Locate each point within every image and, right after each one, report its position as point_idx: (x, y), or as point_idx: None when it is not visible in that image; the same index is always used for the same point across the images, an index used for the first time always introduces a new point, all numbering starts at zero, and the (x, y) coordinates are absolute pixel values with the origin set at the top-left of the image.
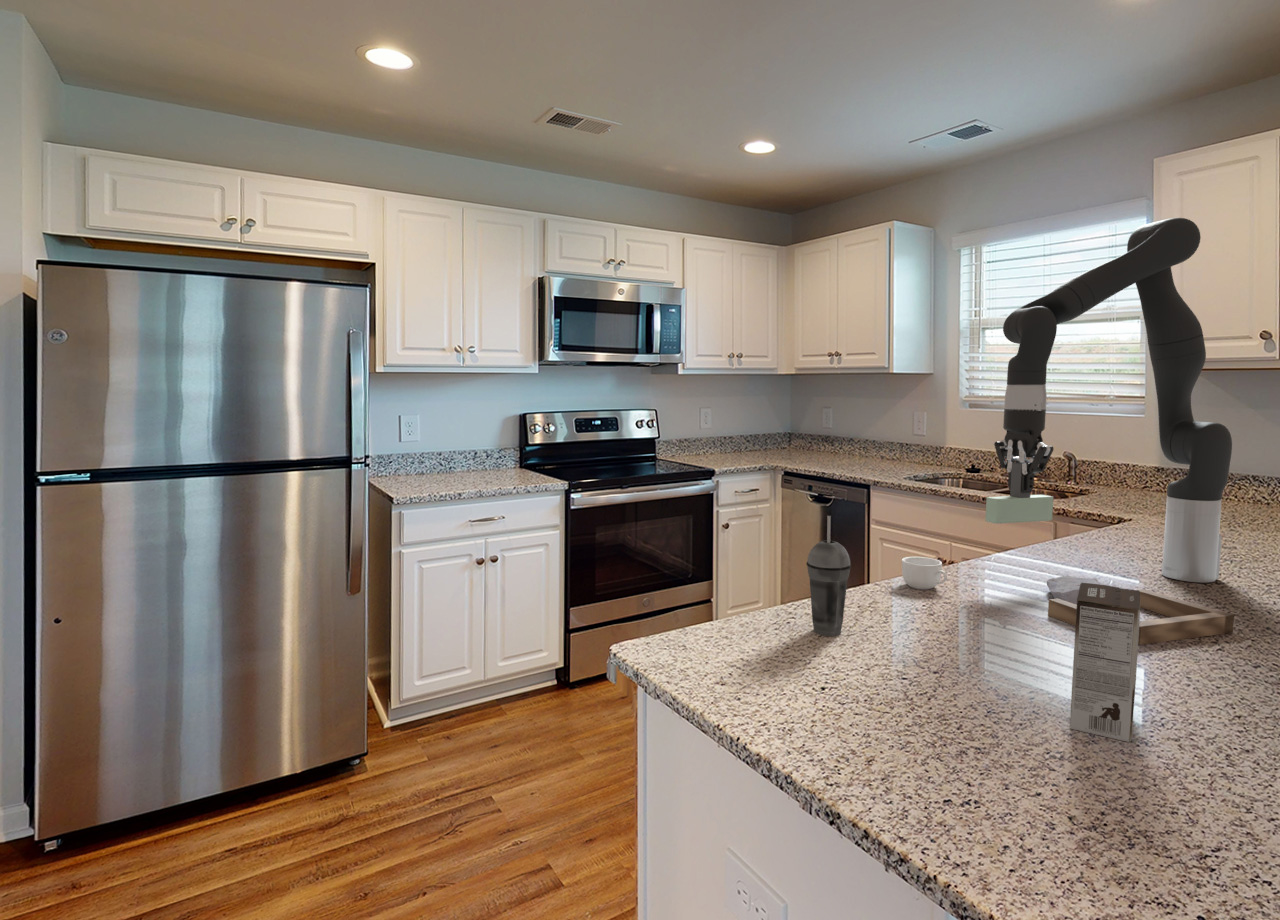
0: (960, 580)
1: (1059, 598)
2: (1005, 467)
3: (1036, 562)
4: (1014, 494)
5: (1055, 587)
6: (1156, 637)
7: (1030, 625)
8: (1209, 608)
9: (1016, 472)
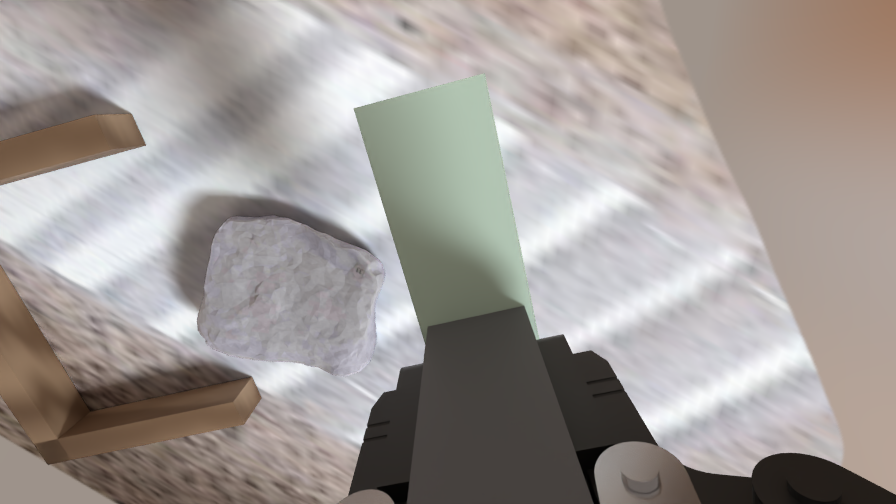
0: (518, 38)
1: (252, 218)
2: (753, 490)
3: (687, 392)
4: (481, 323)
5: (310, 246)
6: None
7: (27, 7)
8: (90, 451)
9: (489, 475)
